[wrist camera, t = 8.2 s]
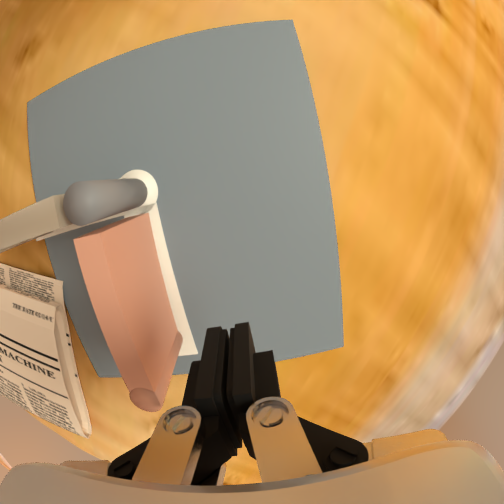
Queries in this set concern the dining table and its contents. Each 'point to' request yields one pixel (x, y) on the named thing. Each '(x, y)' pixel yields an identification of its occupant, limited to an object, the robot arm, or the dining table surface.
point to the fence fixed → (33, 222)
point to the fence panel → (126, 285)
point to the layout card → (204, 185)
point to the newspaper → (39, 351)
